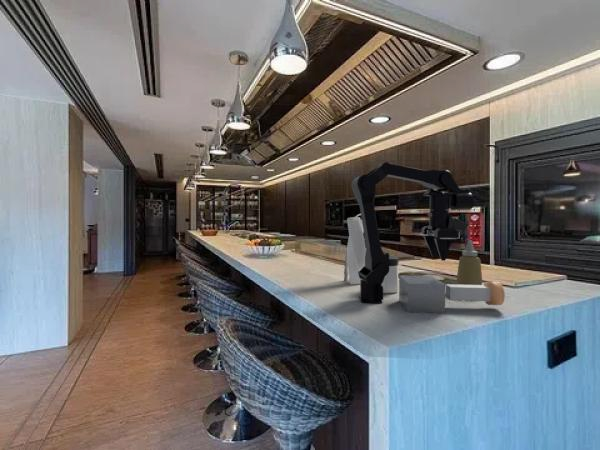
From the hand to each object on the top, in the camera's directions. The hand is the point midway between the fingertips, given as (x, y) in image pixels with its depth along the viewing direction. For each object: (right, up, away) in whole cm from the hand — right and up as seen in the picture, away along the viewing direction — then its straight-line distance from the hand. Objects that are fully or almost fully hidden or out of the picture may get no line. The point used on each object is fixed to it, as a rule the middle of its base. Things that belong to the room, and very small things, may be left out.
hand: (438, 258), depth 103 cm
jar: (-14, -13, +11) cm, 22 cm away
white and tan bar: (+6, -12, -10) cm, 17 cm away
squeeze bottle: (+15, -13, +10) cm, 22 cm away
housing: (-9, -13, -9) cm, 18 cm away
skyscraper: (-23, -13, +24) cm, 35 cm away
